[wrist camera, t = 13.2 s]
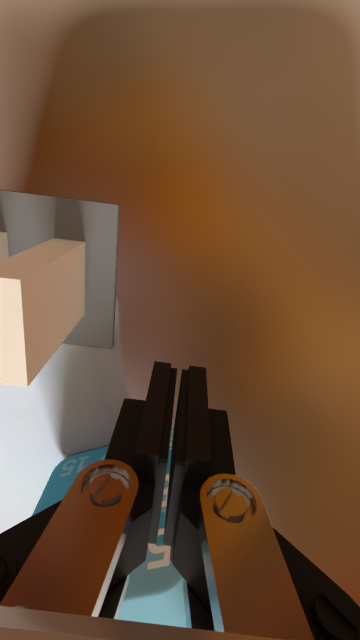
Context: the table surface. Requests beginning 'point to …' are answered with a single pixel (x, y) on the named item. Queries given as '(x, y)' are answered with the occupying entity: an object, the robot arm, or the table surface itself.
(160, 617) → the data package
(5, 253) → the domino
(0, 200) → the domino mat
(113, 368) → the table surface
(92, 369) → the table surface
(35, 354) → the domino
